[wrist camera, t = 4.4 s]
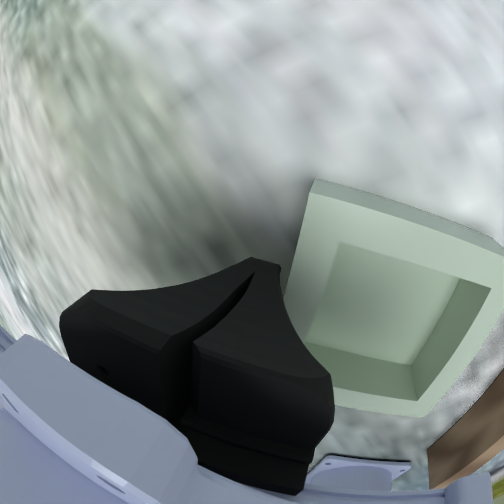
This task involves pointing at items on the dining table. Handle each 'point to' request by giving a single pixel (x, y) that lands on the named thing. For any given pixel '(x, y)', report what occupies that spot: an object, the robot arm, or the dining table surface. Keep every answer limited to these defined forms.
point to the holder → (390, 298)
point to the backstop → (469, 439)
